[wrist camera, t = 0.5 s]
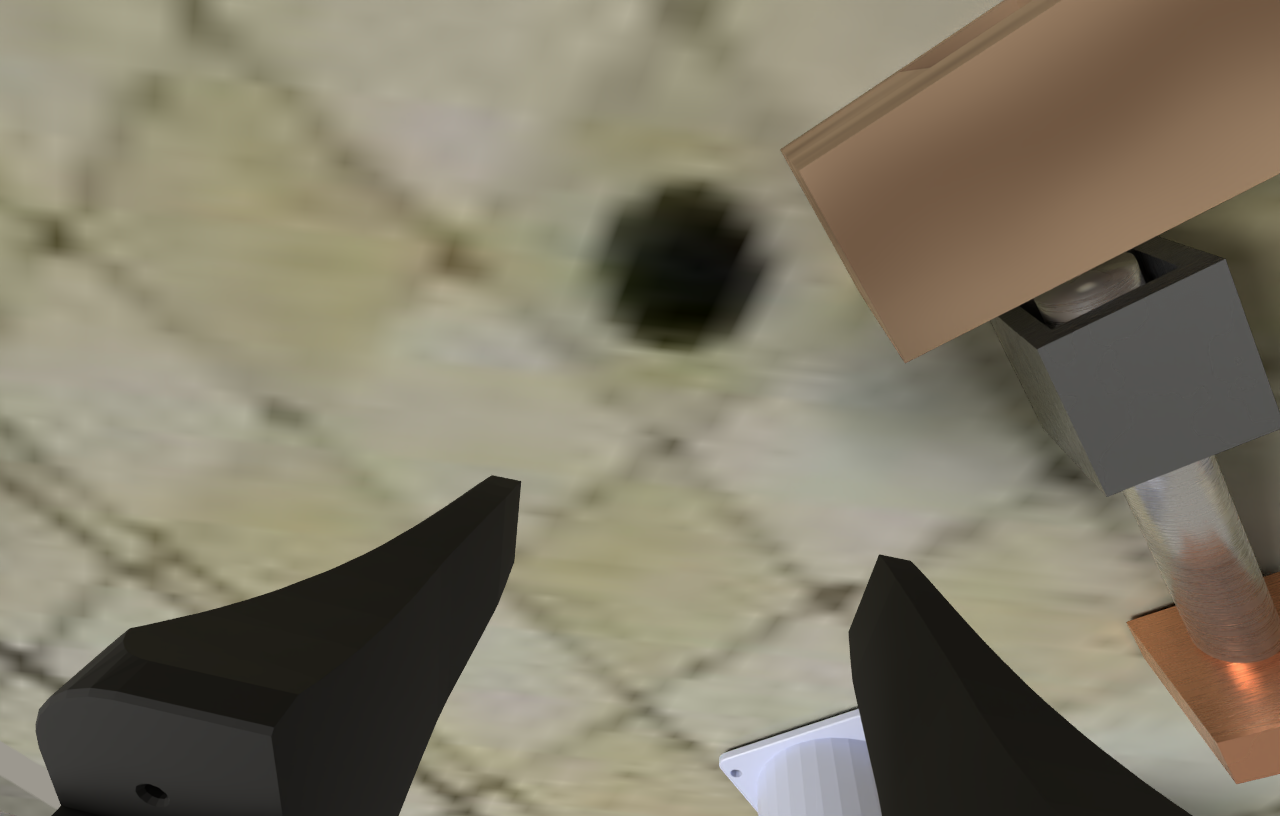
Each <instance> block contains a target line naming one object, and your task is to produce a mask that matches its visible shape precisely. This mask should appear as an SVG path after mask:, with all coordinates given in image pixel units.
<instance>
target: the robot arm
mask: <svg viewBox="0 0 1280 816" xmlns="http://www.w3.org/2000/svg"><path fill="white" fill-rule="evenodd" d="M520 488H521V481H517V480H512V479H508V478H503V477H498V476H493V475H492V476H490V477H488V478H487V479H485V480H484V481H482V482H481V483H479V484H478V485H476V486H475V487H473V488H472V489H470V490H469V491H468V492H466V493H465V494H463V495H462V496H460V497H459V498H457V499H456V500H454V501H453V502H452V503H450V504H449V505H447V506H446V507H444V508H443V509H441V510H439V511H438V512H436V513H435V514H433V515H432V516H430V517H429V518H427V519H426V520H424V521H422V522H421V523H419V524H418V525H416V526H414V527H413V528H411V529H409V530H408V531H406V532H404V533H402V534H401V535H399V536H397V537H395V538H394V539H392V540H390V541H389V542H387V543H385V544H383V545H381V546H379V547H378V548H376V549H374V550H372V551H370V552H368V553H366V554H364V555H362V556H360V557H357V558H355V559H353V560H351V561H349V562H347V563H344V564H342V565H340V566H338V567H336V568H333V569H331V570H329V571H326V572H324V573H321V574H318V575H316V576H313V577H311V578H308V579H305V580H303V581H300V582H297V583H295V584H292V585H290V586H287V587H284V588H282V589H279V590H276V591H273V592H270V593H267V594H264V595H261V596H258V597H254V598H251V599H248V600H245V601H241V602H238V603H234V604H231V605H227V606H224V607H221V608H217V609H213V610H209V611H205V612H202V613H197V614H193V615H189V616H184V617H180V618H175V619H171V620H167V621H162V622H158V623H153V624H149V625H144V626H139V627H134V628H130V629H129V630H127V631H126V632H125V633H124V634H122V635H121V636H120V637H119V638H117V639H116V640H115V641H114V642H113V643H112V644H110V645H109V646H108V647H107V648H106V649H105V650H103V651H102V652H101V653H100V654H99V655H98V656H96V657H95V658H94V659H93V660H92V661H91V662H90V663H88V664H87V665H86V666H85V667H84V668H83V669H82V670H80V671H79V672H78V673H77V674H76V675H75V676H74V677H72V678H71V679H70V680H69V681H68V682H67V683H66V684H64V685H63V686H62V687H61V688H60V689H59V690H57V691H56V692H55V693H54V694H53V695H52V696H51V697H50V698H49V699H48V700H47V701H46V702H45V703H44V704H43V705H42V707H41V708H40V709H39V712H38V717H37V721H36V735H37V740H38V745H39V749H40V751H41V754H42V757H43V759H44V762H45V764H46V767H47V770H48V772H49V775H50V778H51V780H52V783H53V785H54V788H55V791H56V793H57V796H58V799H59V801H60V804H61V806H60V808H59V809H58V810H57V811H56V812H55V813H54V814H53V815H52V816H399V813H400V811H401V808H402V806H403V803H404V801H405V798H406V796H407V793H408V791H409V788H410V786H411V783H412V781H413V778H414V776H415V773H416V770H417V768H418V766H419V763H420V761H421V758H422V756H423V754H424V751H425V749H426V746H427V744H428V741H429V739H430V737H431V734H432V732H433V729H434V727H435V725H436V722H437V720H438V718H439V716H440V714H441V712H442V709H443V707H444V705H445V703H446V701H447V699H448V697H449V695H450V693H451V692H452V690H453V688H454V686H455V684H456V682H457V680H458V679H459V677H460V675H461V673H462V671H463V669H464V667H465V666H466V664H467V662H468V660H469V658H470V656H471V654H472V652H473V651H474V649H475V647H476V645H477V643H478V641H479V639H480V638H481V636H482V634H483V632H484V630H485V628H486V626H487V624H488V622H489V621H490V619H491V617H492V615H493V613H494V611H495V609H496V607H497V605H498V603H499V600H500V598H501V595H502V593H503V590H504V588H505V585H506V582H507V580H508V577H509V574H510V572H511V569H512V566H513V564H514V558H515V547H516V535H517V523H518V512H519V500H520ZM849 645H850V659H851V669H852V679H853V685H854V690H855V695H856V699H857V704H858V708H859V709H856V710H853V711H850V712H847V713H844V714H841V715H838V716H835V717H832V718H829V719H826V720H822V721H819V722H816V723H813V724H810V725H807V726H804V727H801V728H798V729H795V730H792V731H789V732H786V733H783V734H780V735H777V736H774V737H771V738H768V739H765V740H762V741H759V742H756V743H753V744H749V745H746V746H743V747H740V748H737V749H734V750H731V751H728V752H725V753H723V754H721V756H720V759H719V766H720V768H721V770H722V771H723V772H724V773H725V774H726V775H727V777H728V778H729V779H730V780H731V781H732V783H733V784H734V785H735V786H736V787H737V788H738V790H739V791H740V792H741V793H742V794H743V796H744V797H745V798H746V799H747V800H748V801H749V803H750V804H751V805H752V806H753V807H754V809H755V810H756V811H757V812H758V816H1192V815H1191V814H1189V813H1188V812H1186V811H1185V810H1183V809H1182V808H1180V807H1179V806H1177V805H1176V804H1174V803H1173V802H1172V801H1170V800H1169V799H1167V798H1166V797H1165V796H1163V795H1162V794H1160V793H1159V792H1158V791H1156V790H1155V789H1153V788H1152V787H1151V786H1149V785H1148V784H1146V783H1145V782H1144V781H1142V780H1141V779H1140V778H1138V777H1137V776H1136V775H1134V774H1133V773H1132V772H1130V771H1129V770H1128V769H1127V768H1125V767H1124V766H1123V765H1121V764H1120V763H1119V762H1117V761H1116V760H1115V759H1113V758H1112V757H1111V756H1110V755H1108V754H1107V753H1106V752H1104V751H1103V750H1102V749H1100V748H1099V747H1098V746H1097V745H1096V744H1094V743H1093V742H1092V741H1091V740H1089V739H1088V738H1087V737H1086V736H1084V735H1083V734H1082V733H1081V732H1080V731H1078V730H1077V729H1076V728H1075V727H1074V726H1073V725H1071V724H1070V723H1069V722H1068V721H1067V720H1066V719H1065V718H1063V717H1062V716H1061V715H1060V714H1059V713H1058V712H1057V711H1055V710H1054V709H1053V708H1052V707H1051V706H1050V705H1048V704H1047V703H1046V702H1045V701H1044V700H1043V699H1042V698H1041V697H1040V696H1039V695H1037V694H1036V693H1035V692H1034V691H1033V690H1032V689H1031V688H1030V687H1029V686H1028V685H1027V684H1026V683H1025V682H1024V681H1023V680H1022V679H1021V678H1020V677H1019V676H1018V675H1017V674H1016V673H1015V672H1014V671H1013V670H1012V669H1011V668H1010V667H1009V666H1008V665H1007V664H1006V663H1005V662H1004V661H1002V660H1001V658H1000V657H999V656H998V655H997V654H996V653H995V652H994V651H993V650H992V649H991V648H990V647H989V646H988V645H987V644H986V643H985V642H984V641H983V640H982V639H981V638H980V636H979V635H978V634H977V633H976V632H975V631H974V630H973V629H972V628H971V627H970V626H969V625H968V623H967V622H966V621H965V620H964V619H963V618H962V617H961V616H960V615H959V613H958V612H957V611H956V610H955V609H954V608H953V607H952V606H951V604H950V603H949V602H948V601H947V600H946V599H945V598H944V597H943V595H942V594H941V593H940V592H939V591H938V590H937V589H936V588H935V586H934V585H933V584H932V583H931V582H930V581H929V580H928V579H927V578H926V576H925V575H924V574H923V573H922V572H921V571H920V570H919V569H918V568H917V567H916V566H915V565H914V564H913V563H912V562H911V561H908V560H904V559H899V558H894V557H889V556H884V555H879V556H878V559H877V561H876V564H875V567H874V569H873V572H872V574H871V577H870V579H869V582H868V584H867V587H866V589H865V592H864V594H863V597H862V599H861V602H860V605H859V607H858V610H857V612H856V615H855V617H854V620H853V622H852V625H851V627H850V630H849ZM0 816H15V815H13V814H10V813H6V812H2V811H0Z"/></svg>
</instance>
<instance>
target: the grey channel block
mask: <svg viewBox="0 0 1280 816" xmlns="http://www.w3.org/2000/svg"><path fill="white" fill-rule="evenodd" d="M1126 252H1128V253H1131V254H1133V255H1134V256H1135V258H1136V260H1137V262H1138V265H1139V267H1140V270H1141V272H1142V275H1143V277H1144V280H1145V282H1146V284H1144V285H1142V286H1140V287H1138V288H1136V289H1134V290H1132V291H1130V292H1128V293H1126V294H1124V295H1121V296H1119V297H1117V298H1115V299H1113V300H1111V301H1109V302H1107V303H1105V304H1103V305H1101V306H1099V307H1097V308H1095V309H1093V310H1091V311H1089V312H1087V313H1085V314H1082V315H1080V316H1078V317H1076V318H1074V319H1072V320H1070V321H1068V322H1066V323H1064V324H1062V325H1060V326H1058V327H1056V328H1054V329H1052V330H1051V329H1050V328H1048V327H1047V326H1046V324H1045V322H1044V320H1043V318H1042V316H1041V313H1040V311H1039V309H1038V307H1037V305H1036V303H1035V300H1034V298H1033V299H1031V300H1029V301H1027V302H1025V303H1023V304H1021V305H1019V306H1017V307H1015V308H1013V309H1011V310H1009V311H1007V312H1005V313H1003V314H1001V315H999V316H998V317H996V318H994V319H992V320H990V322H991V324H992V326H993V328H994V330H995V332H996V334H997V336H998V338H999V340H1000V342H1001V344H1002V346H1003V348H1004V350H1005V352H1006V354H1007V356H1008V358H1009V360H1010V362H1011V364H1012V367H1013V369H1014V371H1015V373H1016V375H1017V377H1018V379H1019V381H1020V383H1021V385H1022V387H1023V389H1024V391H1025V393H1026V395H1027V397H1028V399H1029V401H1030V403H1031V405H1032V407H1033V409H1034V411H1035V413H1036V415H1037V417H1038V419H1039V421H1040V423H1041V425H1042V427H1043V429H1044V430H1045V431H1046V432H1047V433H1048V434H1049V435H1050V436H1051V438H1052V439H1053V440H1054V441H1055V442H1056V443H1057V444H1058V445H1059V446H1060V447H1061V448H1062V449H1063V450H1064V451H1065V453H1066V454H1067V455H1068V456H1069V457H1070V458H1071V459H1072V460H1073V461H1074V462H1075V463H1076V464H1077V465H1078V467H1079V468H1080V469H1081V470H1082V471H1083V472H1084V473H1085V474H1086V475H1087V476H1088V477H1089V478H1090V479H1091V480H1092V482H1093V483H1094V484H1095V485H1096V486H1097V487H1098V488H1099V489H1100V490H1101V491H1102V492H1103V493H1104V494H1105V495H1106V497H1108V496H1110V495H1113V494H1116V493H1118V492H1121V491H1123V490H1126V489H1128V488H1131V487H1133V486H1136V485H1139V484H1141V483H1144V482H1146V481H1149V480H1151V479H1154V478H1156V477H1159V476H1161V475H1164V474H1167V473H1169V472H1172V471H1174V470H1177V469H1179V468H1182V467H1184V466H1187V465H1190V464H1192V463H1195V462H1197V461H1200V460H1202V459H1205V458H1207V457H1210V456H1212V455H1215V454H1218V453H1220V452H1223V451H1225V450H1228V449H1230V448H1233V447H1235V446H1238V445H1241V444H1243V443H1246V442H1248V441H1251V440H1253V439H1256V438H1258V437H1261V436H1263V435H1266V434H1269V433H1271V432H1274V431H1276V430H1279V429H1280V412H1279V410H1278V407H1277V404H1276V401H1275V398H1274V395H1273V393H1272V390H1271V387H1270V384H1269V381H1268V378H1267V376H1266V373H1265V370H1264V367H1263V364H1262V361H1261V358H1260V356H1259V353H1258V350H1257V347H1256V344H1255V341H1254V339H1253V336H1252V333H1251V330H1250V327H1249V324H1248V322H1247V319H1246V316H1245V313H1244V310H1243V307H1242V305H1241V302H1240V299H1239V296H1238V293H1237V290H1236V287H1235V285H1234V282H1233V279H1232V276H1231V273H1230V270H1229V268H1228V265H1227V262H1226V259H1224V258H1221V257H1218V256H1215V255H1212V254H1209V253H1206V252H1203V251H1200V250H1197V249H1194V248H1191V247H1188V246H1185V245H1182V244H1179V243H1176V242H1173V241H1170V240H1167V239H1164V238H1161V237H1158V236H1155V237H1153V238H1151V239H1149V240H1147V241H1145V242H1144V243H1142V244H1140V245H1138V246H1136V247H1134V248H1132V249H1130V250H1128V251H1126Z"/></svg>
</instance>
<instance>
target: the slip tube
mask: <svg viewBox="0 0 1280 816" xmlns="http://www.w3.org/2000/svg"><path fill="white" fill-rule="evenodd" d="M1144 284H1146V282H1145V280H1144V277H1143V275H1142V272H1141V270H1140V267H1139V265H1138V262H1137V260H1136V258H1135V256H1134V255H1133V254H1131V253H1128V252H1124V253H1122V254H1120V255H1118V256H1116V257H1114V258H1112V259H1110V260H1108V261H1106V262H1104V263H1102V264H1100V265H1098V266H1096V267H1094V268H1092V269H1090V270H1088V271H1086V272H1084V273H1082V274H1080V275H1078V276H1076V277H1074V278H1072V279H1071V280H1069V281H1067V282H1065V283H1063V284H1061V285H1059V286H1057V287H1055V288H1053V289H1051V290H1049V291H1047V292H1045V293H1043V294H1041V295H1039V296H1037V297H1035V298H1034V300H1035V303H1036V305H1037V307H1038V309H1039V311H1040V313H1041V316H1042V318H1043V320H1044V322H1045V324H1046V326H1047V327H1048V328H1050V329H1051V330H1052V329H1054V328H1056V327H1058V326H1060V325H1062V324H1064V323H1066V322H1068V321H1070V320H1072V319H1074V318H1076V317H1078V316H1080V315H1082V314H1085V313H1087V312H1089V311H1091V310H1093V309H1095V308H1097V307H1099V306H1101V305H1103V304H1105V303H1107V302H1109V301H1111V300H1113V299H1115V298H1117V297H1119V296H1121V295H1124V294H1126V293H1128V292H1130V291H1132V290H1134V289H1136V288H1138V287H1140V286H1142V285H1144ZM1123 493H1124V495H1125V497H1126V499H1127V501H1128V504H1129V506H1130V508H1131V510H1132V512H1133V514H1134V516H1135V519H1136V521H1137V523H1138V525H1139V527H1140V529H1141V532H1142V534H1143V536H1144V538H1145V540H1146V542H1147V545H1148V547H1149V549H1150V551H1151V553H1152V555H1153V558H1154V560H1155V562H1156V564H1157V566H1158V568H1159V570H1160V573H1161V575H1162V577H1163V579H1164V581H1165V583H1166V586H1167V588H1168V590H1169V592H1170V594H1171V596H1172V599H1173V601H1174V603H1175V605H1176V606H1173V607H1170V608H1167V609H1164V610H1161V611H1158V612H1155V613H1152V614H1149V615H1146V616H1143V617H1140V618H1137V619H1134V620H1131V621H1128V622H1127V624H1128V626H1129V628H1130V630H1131V632H1132V634H1133V636H1134V638H1135V640H1136V642H1137V644H1138V646H1139V648H1140V650H1141V652H1142V654H1143V656H1144V658H1145V660H1146V661H1147V663H1148V664H1149V665H1150V667H1151V668H1152V669H1153V671H1154V672H1155V673H1156V675H1157V676H1158V678H1159V679H1160V680H1161V682H1162V683H1163V684H1164V686H1165V687H1166V689H1167V690H1168V691H1169V693H1170V694H1171V695H1172V697H1173V698H1174V699H1175V701H1176V702H1177V704H1178V705H1179V706H1180V708H1181V709H1182V710H1183V712H1184V713H1185V714H1186V716H1187V717H1188V719H1189V720H1190V721H1191V723H1192V724H1193V725H1194V727H1195V728H1196V730H1197V731H1198V732H1199V734H1200V735H1201V736H1202V738H1203V739H1204V740H1205V742H1206V743H1207V745H1208V746H1209V747H1210V749H1211V750H1212V751H1213V753H1214V754H1215V756H1216V757H1217V758H1218V760H1219V761H1220V762H1221V764H1222V765H1223V766H1224V768H1225V769H1226V771H1227V772H1228V773H1229V775H1230V776H1231V777H1232V779H1233V780H1234V781H1235V783H1236V784H1239V783H1244V782H1248V781H1252V780H1256V779H1260V778H1265V777H1269V776H1273V775H1277V774H1280V572H1277V573H1274V574H1271V575H1268V576H1265V577H1263V576H1262V573H1261V571H1260V568H1259V565H1258V563H1257V560H1256V558H1255V555H1254V553H1253V550H1252V548H1251V545H1250V543H1249V540H1248V538H1247V535H1246V533H1245V530H1244V528H1243V525H1242V523H1241V520H1240V518H1239V515H1238V513H1237V510H1236V508H1235V505H1234V503H1233V500H1232V498H1231V495H1230V493H1229V490H1228V488H1227V485H1226V483H1225V480H1224V478H1223V475H1222V473H1221V470H1220V468H1219V465H1218V463H1217V460H1216V458H1215V455H1212V456H1210V457H1207V458H1205V459H1202V460H1200V461H1197V462H1195V463H1192V464H1190V465H1187V466H1184V467H1182V468H1179V469H1177V470H1174V471H1172V472H1169V473H1167V474H1164V475H1161V476H1159V477H1156V478H1154V479H1151V480H1149V481H1146V482H1144V483H1141V484H1139V485H1136V486H1133V487H1131V488H1128V489H1126V490H1123Z"/></svg>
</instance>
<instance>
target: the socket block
mask: <svg viewBox="0 0 1280 816" xmlns="http://www.w3.org/2000/svg"><path fill="white" fill-rule="evenodd" d="M780 150H781V152H782V154H783V155H784V157H785V159H786V161H787V163H788V164H789V166H790V168H791V170H792V172H793V173H794V175H795V177H796V179H797V181H798V182H799V184H800V186H801V188H802V190H803V191H804V193H805V195H806V197H807V199H808V200H809V202H810V204H811V206H812V208H813V209H814V211H815V213H816V215H817V217H818V218H819V220H820V222H821V224H822V226H823V227H824V229H825V231H826V233H827V235H828V236H829V238H830V240H831V242H832V244H833V246H834V247H835V249H836V251H837V253H838V255H839V256H840V258H841V260H842V262H843V264H844V265H845V267H846V269H847V271H848V273H849V274H850V276H851V278H852V280H853V282H854V283H855V285H856V287H857V289H858V291H859V292H860V294H861V296H862V297H863V299H864V300H865V302H866V303H867V305H868V306H869V308H870V310H871V311H872V313H873V314H874V316H875V317H876V319H877V320H878V322H879V324H880V325H881V327H882V328H883V330H884V331H885V333H886V334H887V336H888V337H889V339H890V341H891V342H892V344H893V345H894V347H895V348H896V350H897V351H898V353H899V355H900V356H901V358H902V359H903V361H904V362H905V363H907V362H909V361H911V360H913V359H915V358H917V357H919V356H921V355H923V354H925V353H927V352H928V351H930V350H932V349H934V348H936V347H938V346H940V345H942V344H944V343H946V342H948V341H950V340H952V339H954V338H956V337H958V336H960V335H962V334H964V333H966V332H968V331H970V330H972V329H974V328H976V327H978V326H980V325H982V324H984V323H986V322H988V321H990V320H992V319H994V318H996V317H998V316H999V315H1001V314H1003V313H1005V312H1007V311H1009V310H1011V309H1013V308H1015V307H1017V306H1019V305H1021V304H1023V303H1025V302H1027V301H1029V300H1031V299H1033V298H1035V297H1037V296H1039V295H1041V294H1043V293H1045V292H1047V291H1049V290H1051V289H1053V288H1055V287H1057V286H1059V285H1061V284H1063V283H1065V282H1067V281H1069V280H1071V279H1072V278H1074V277H1076V276H1078V275H1080V274H1082V273H1084V272H1086V271H1088V270H1090V269H1092V268H1094V267H1096V266H1098V265H1100V264H1102V263H1104V262H1106V261H1108V260H1110V259H1112V258H1114V257H1116V256H1118V255H1120V254H1122V253H1124V252H1126V251H1128V250H1130V249H1132V248H1134V247H1136V246H1138V245H1140V244H1142V243H1144V242H1145V241H1147V240H1149V239H1151V238H1153V237H1155V236H1157V235H1159V234H1161V233H1163V232H1165V231H1167V230H1169V229H1171V228H1173V227H1175V226H1177V225H1179V224H1181V223H1183V222H1185V221H1187V220H1189V219H1191V218H1193V217H1195V216H1197V215H1199V214H1201V213H1203V212H1205V211H1207V210H1209V209H1211V208H1213V207H1215V206H1217V205H1218V204H1220V203H1222V202H1224V201H1226V200H1228V199H1230V198H1232V197H1234V196H1236V195H1238V194H1240V193H1242V192H1244V191H1246V190H1248V189H1250V188H1252V187H1254V186H1256V185H1258V184H1260V183H1262V182H1264V181H1266V180H1268V179H1270V178H1272V177H1274V176H1276V175H1278V174H1280V0H1004V1H1002V2H1001V3H999V4H998V5H996V6H995V7H993V8H992V9H990V10H989V11H987V12H986V13H984V14H983V15H981V16H980V17H978V18H977V19H975V20H974V21H972V22H971V23H969V24H968V25H966V26H965V27H963V28H962V29H960V30H959V31H957V32H956V33H954V34H953V35H951V36H950V37H948V38H947V39H945V40H944V41H942V42H941V43H939V44H938V45H936V46H935V47H933V48H932V49H930V50H929V51H927V52H926V53H924V54H923V55H921V56H920V57H918V58H917V59H915V60H914V61H912V62H911V63H909V64H908V65H906V66H905V67H903V68H902V69H900V70H899V71H897V72H896V73H894V74H893V75H891V76H890V77H888V78H887V79H885V80H884V81H882V82H881V83H879V84H878V85H876V86H875V87H873V88H872V89H870V90H869V91H867V92H866V93H864V94H863V95H861V96H860V97H858V98H857V99H855V100H854V101H852V102H851V103H849V104H848V105H846V106H845V107H843V108H842V109H840V110H839V111H837V112H836V113H834V114H833V115H831V116H830V117H828V118H827V119H825V120H824V121H822V122H821V123H819V124H818V125H816V126H815V127H813V128H812V129H810V130H809V131H807V132H806V133H804V134H803V135H801V136H800V137H798V138H797V139H795V140H794V141H792V142H791V143H789V144H788V145H786V146H785V147H783V148H782V149H780Z"/></svg>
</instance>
